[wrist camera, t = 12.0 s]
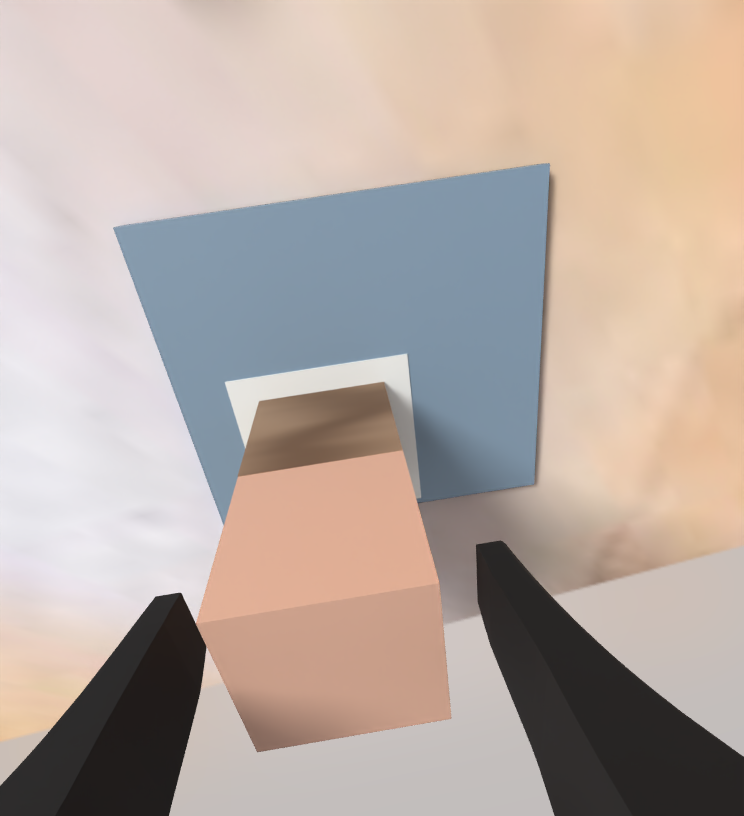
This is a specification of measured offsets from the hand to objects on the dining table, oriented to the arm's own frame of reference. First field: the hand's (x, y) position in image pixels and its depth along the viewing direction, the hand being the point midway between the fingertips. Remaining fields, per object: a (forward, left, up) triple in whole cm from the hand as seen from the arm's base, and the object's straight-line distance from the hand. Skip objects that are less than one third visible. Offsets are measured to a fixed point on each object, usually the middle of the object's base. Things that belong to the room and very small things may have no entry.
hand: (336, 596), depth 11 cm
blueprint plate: (-1, -2, -8) cm, 8 cm away
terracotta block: (0, 0, -2) cm, 2 cm away
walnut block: (0, 0, -7) cm, 7 cm away
